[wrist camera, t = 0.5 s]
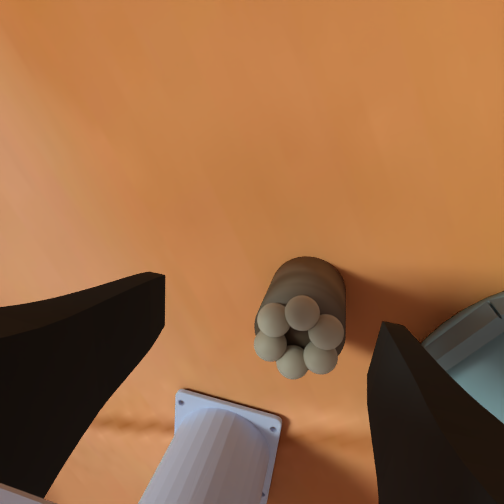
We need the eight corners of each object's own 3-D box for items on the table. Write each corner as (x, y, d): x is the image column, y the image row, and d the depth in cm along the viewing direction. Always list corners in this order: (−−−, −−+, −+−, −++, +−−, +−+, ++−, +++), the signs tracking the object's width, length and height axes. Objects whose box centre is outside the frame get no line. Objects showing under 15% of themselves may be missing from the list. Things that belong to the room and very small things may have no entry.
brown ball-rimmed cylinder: (337, 329, 22) (334, 398, 16) (267, 313, 22) (243, 374, 17) (353, 264, 20) (355, 318, 15) (277, 249, 21) (253, 295, 15)
